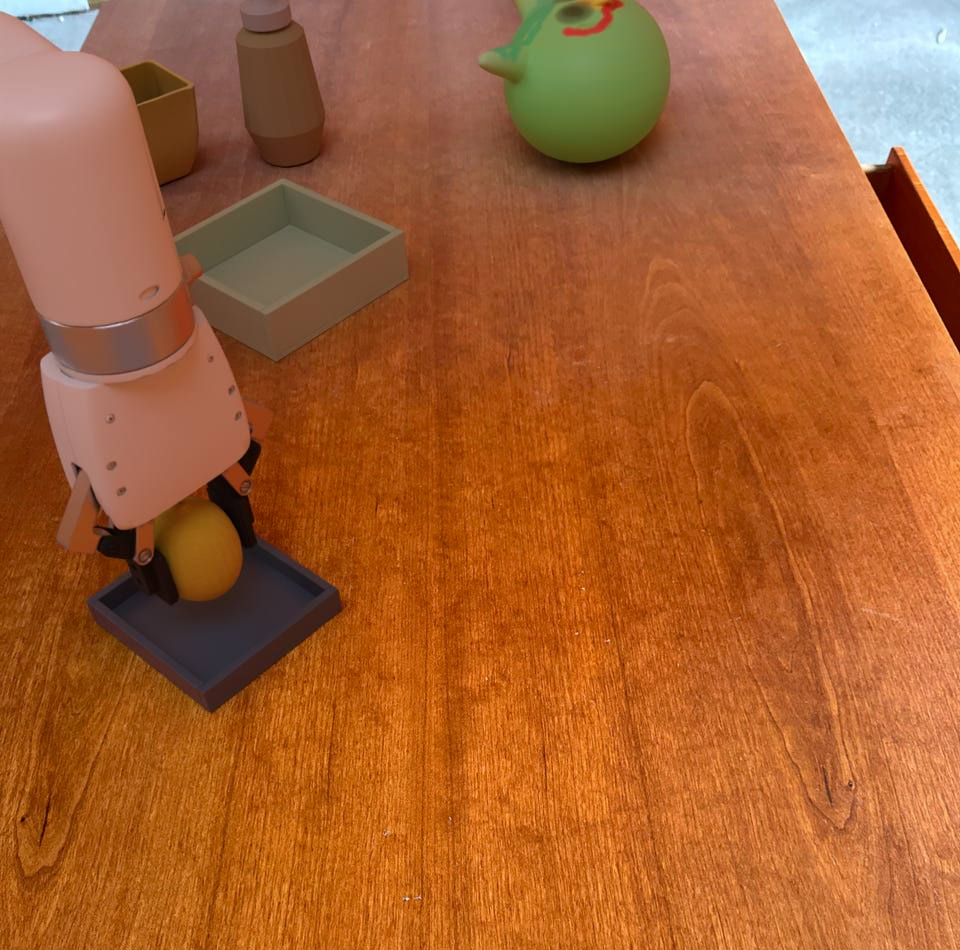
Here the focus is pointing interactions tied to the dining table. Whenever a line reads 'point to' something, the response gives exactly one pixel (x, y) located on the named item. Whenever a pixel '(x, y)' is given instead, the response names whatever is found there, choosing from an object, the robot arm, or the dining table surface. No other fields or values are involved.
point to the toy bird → (583, 76)
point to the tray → (221, 624)
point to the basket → (290, 266)
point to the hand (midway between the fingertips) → (199, 562)
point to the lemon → (199, 548)
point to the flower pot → (165, 117)
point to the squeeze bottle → (278, 84)
